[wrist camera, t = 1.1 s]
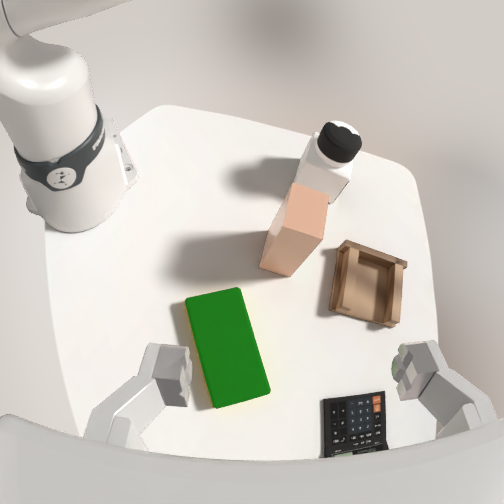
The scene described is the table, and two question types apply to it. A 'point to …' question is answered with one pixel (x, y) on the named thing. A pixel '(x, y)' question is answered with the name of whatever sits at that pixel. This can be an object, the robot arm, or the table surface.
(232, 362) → the dish sponge
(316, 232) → the clay block
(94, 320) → the table surface
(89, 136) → the robot arm
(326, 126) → the medicine bottle
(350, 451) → the calculator
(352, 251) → the tray
